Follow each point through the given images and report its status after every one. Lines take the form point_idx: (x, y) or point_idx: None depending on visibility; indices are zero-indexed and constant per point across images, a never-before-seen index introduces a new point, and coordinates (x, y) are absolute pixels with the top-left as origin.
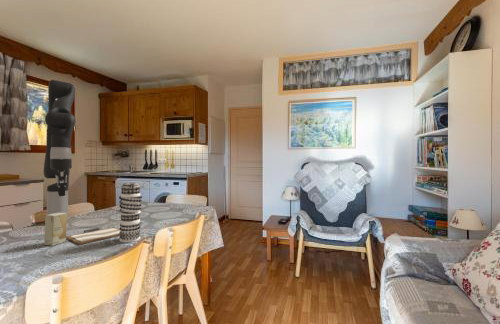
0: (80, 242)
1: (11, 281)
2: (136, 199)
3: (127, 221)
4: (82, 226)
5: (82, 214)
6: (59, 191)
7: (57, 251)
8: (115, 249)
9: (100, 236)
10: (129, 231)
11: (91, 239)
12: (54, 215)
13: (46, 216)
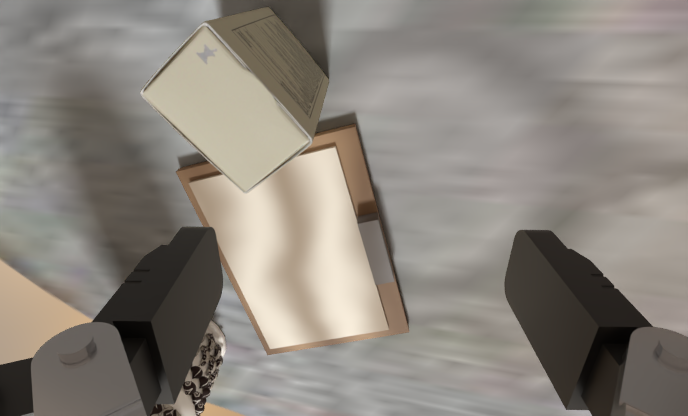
0: (187, 177)
1: None
2: None
3: None
4: (586, 222)
5: None
6: (159, 276)
7: (113, 70)
8: (60, 274)
9: (242, 263)
10: None
11: (210, 224)
12: (154, 99)
13: (197, 30)
